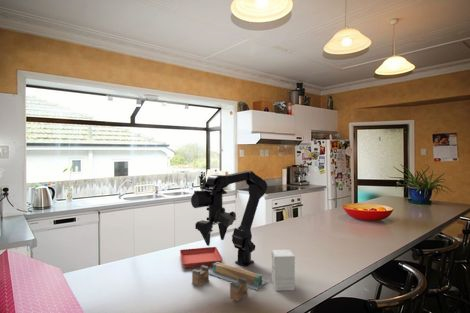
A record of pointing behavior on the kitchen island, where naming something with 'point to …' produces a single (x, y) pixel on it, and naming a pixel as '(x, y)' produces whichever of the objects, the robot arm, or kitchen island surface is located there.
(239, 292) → the post
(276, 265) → the supplement box
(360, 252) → the kitchen island surface
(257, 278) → the rail
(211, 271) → the mat
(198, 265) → the plant saucer
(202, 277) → the post
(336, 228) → the kitchen island surface
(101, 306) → the kitchen island surface
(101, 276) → the kitchen island surface
